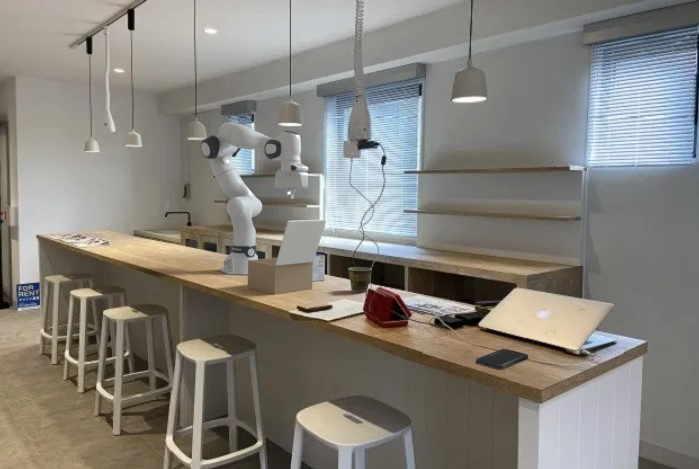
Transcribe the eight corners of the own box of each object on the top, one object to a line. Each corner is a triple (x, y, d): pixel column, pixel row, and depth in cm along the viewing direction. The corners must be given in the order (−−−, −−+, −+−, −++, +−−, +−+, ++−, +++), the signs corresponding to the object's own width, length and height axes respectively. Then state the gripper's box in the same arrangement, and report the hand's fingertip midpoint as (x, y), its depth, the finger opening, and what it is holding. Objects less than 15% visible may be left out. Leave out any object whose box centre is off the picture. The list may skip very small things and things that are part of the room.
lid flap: (287, 220, 215) (288, 221, 215) (324, 219, 229) (326, 220, 228) (275, 264, 222) (276, 265, 222) (312, 260, 236) (313, 261, 235)
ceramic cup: (356, 288, 241) (356, 266, 240) (375, 291, 235) (376, 268, 234) (339, 292, 230) (339, 269, 229) (358, 296, 224) (359, 272, 223)
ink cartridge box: (319, 278, 265) (319, 249, 264) (325, 280, 260) (325, 250, 259) (301, 280, 259) (302, 250, 258) (307, 282, 255) (308, 251, 253)
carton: (247, 287, 238) (247, 260, 237) (284, 282, 251) (284, 257, 250) (274, 294, 223) (275, 265, 222) (312, 289, 237) (312, 261, 236)
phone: (529, 354, 146) (501, 366, 136) (529, 359, 146) (501, 371, 136) (503, 348, 152) (474, 359, 141) (503, 352, 152) (473, 363, 141)
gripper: (271, 167, 248) (271, 197, 249) (299, 166, 233) (299, 199, 234) (282, 168, 252) (282, 197, 253) (310, 167, 238) (310, 199, 239)
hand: (290, 198), depth 244 cm, fingers closed
